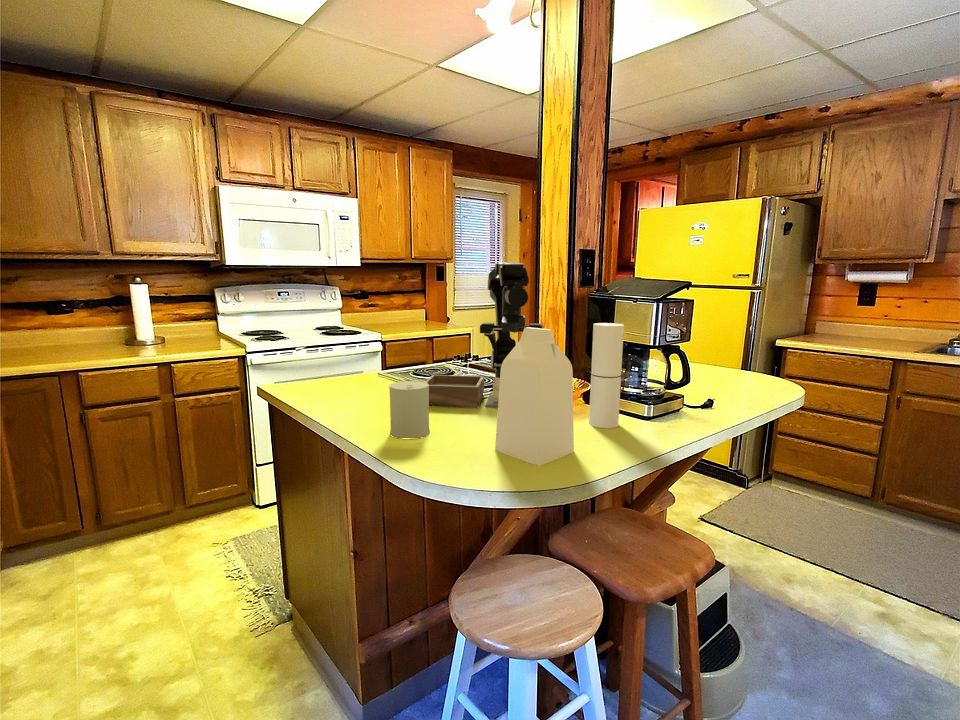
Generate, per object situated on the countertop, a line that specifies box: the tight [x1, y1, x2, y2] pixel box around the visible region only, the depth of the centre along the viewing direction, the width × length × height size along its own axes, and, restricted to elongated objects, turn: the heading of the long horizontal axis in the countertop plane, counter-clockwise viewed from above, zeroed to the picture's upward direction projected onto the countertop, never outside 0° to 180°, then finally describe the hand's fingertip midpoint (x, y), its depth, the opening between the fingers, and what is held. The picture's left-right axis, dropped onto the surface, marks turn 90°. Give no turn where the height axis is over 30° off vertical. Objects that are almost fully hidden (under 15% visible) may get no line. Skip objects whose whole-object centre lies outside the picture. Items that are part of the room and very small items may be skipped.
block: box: [492, 377, 500, 402], centre depth 144 cm, size 5×5×6 cm
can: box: [388, 380, 431, 439], centre depth 115 cm, size 9×9×12 cm
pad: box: [485, 393, 498, 409], centre depth 145 cm, size 12×8×1 cm, turn 173°
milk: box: [494, 327, 575, 467], centre depth 103 cm, size 12×12×26 cm
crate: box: [424, 374, 485, 409], centre depth 146 cm, size 15×16×6 cm
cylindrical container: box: [588, 322, 625, 429], centre depth 122 cm, size 7×7×25 cm
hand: (510, 356), depth 152 cm, fingers open, 9 cm apart
